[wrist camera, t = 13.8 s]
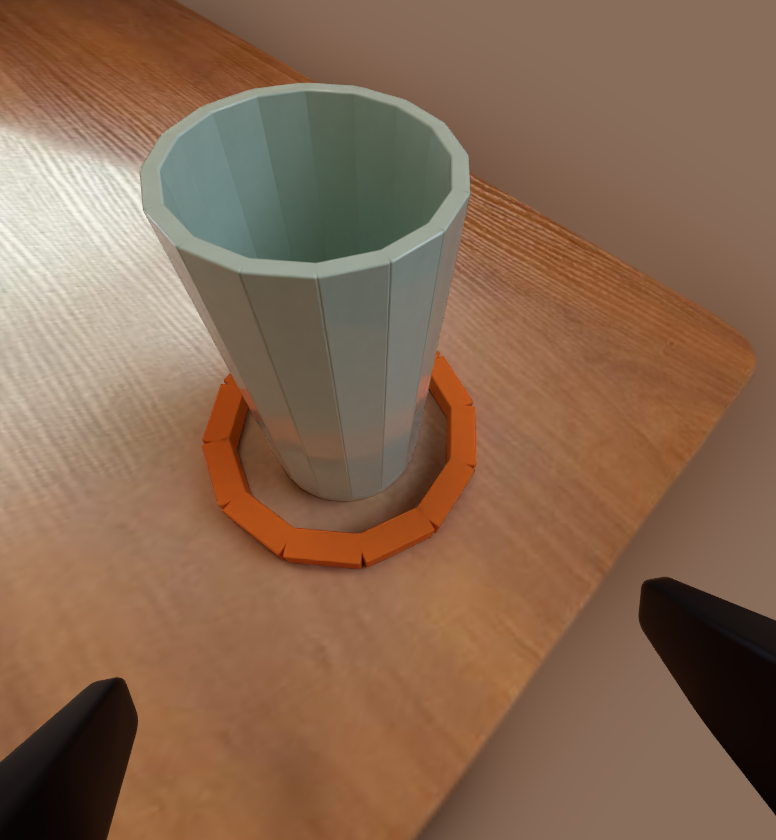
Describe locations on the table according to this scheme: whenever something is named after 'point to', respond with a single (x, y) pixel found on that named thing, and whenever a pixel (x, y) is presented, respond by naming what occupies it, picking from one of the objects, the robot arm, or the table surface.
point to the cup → (317, 265)
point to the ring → (331, 544)
